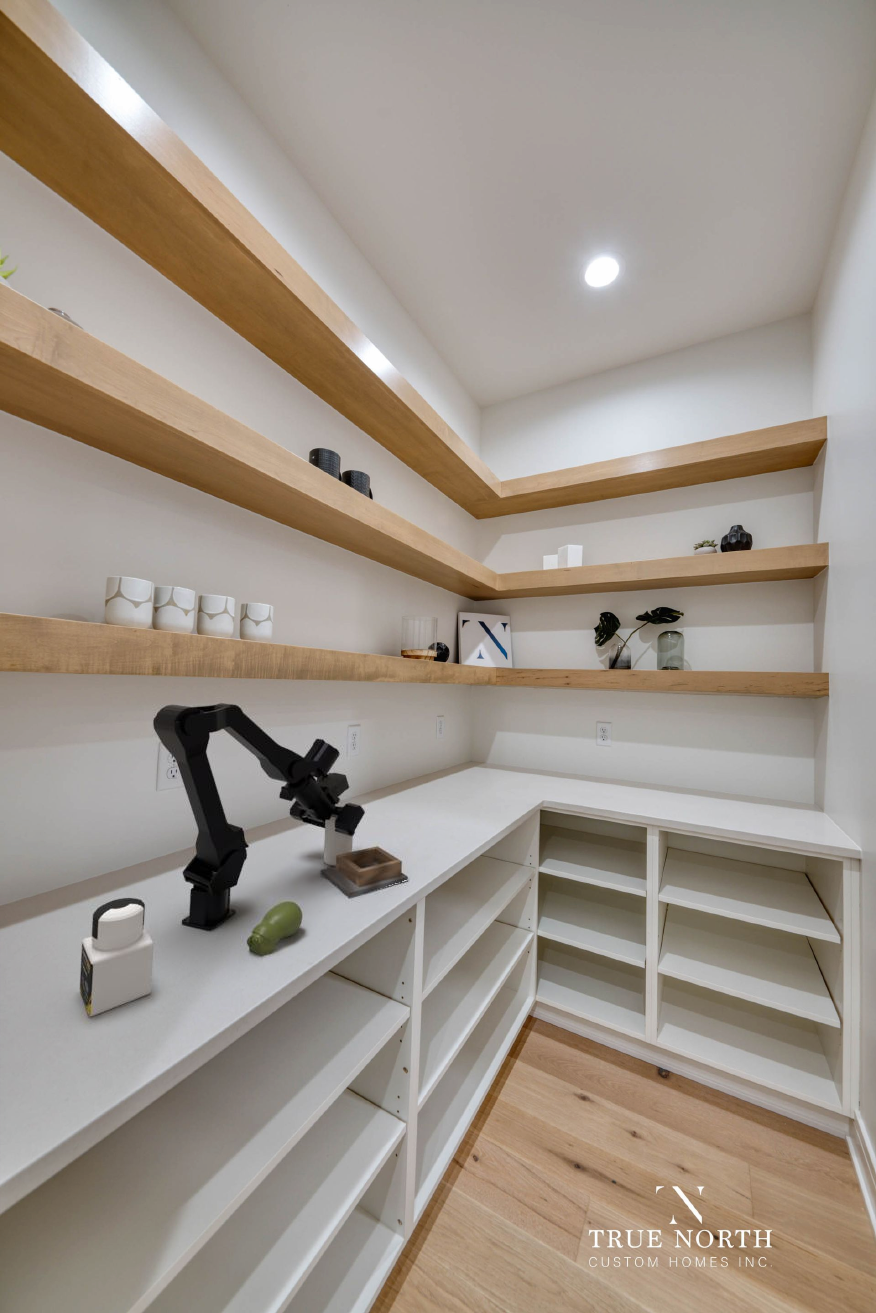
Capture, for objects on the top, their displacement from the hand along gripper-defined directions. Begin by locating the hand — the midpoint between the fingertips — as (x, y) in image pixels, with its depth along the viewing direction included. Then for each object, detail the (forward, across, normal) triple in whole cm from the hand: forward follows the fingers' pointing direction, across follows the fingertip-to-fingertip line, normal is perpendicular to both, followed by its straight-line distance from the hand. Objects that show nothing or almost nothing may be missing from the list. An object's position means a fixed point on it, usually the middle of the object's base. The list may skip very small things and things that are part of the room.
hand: (343, 831), depth 116 cm
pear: (-17, -15, +27) cm, 35 cm away
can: (+4, 0, +6) cm, 7 cm away
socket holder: (+2, -11, +7) cm, 13 cm away
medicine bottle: (-32, -7, +42) cm, 53 cm away
